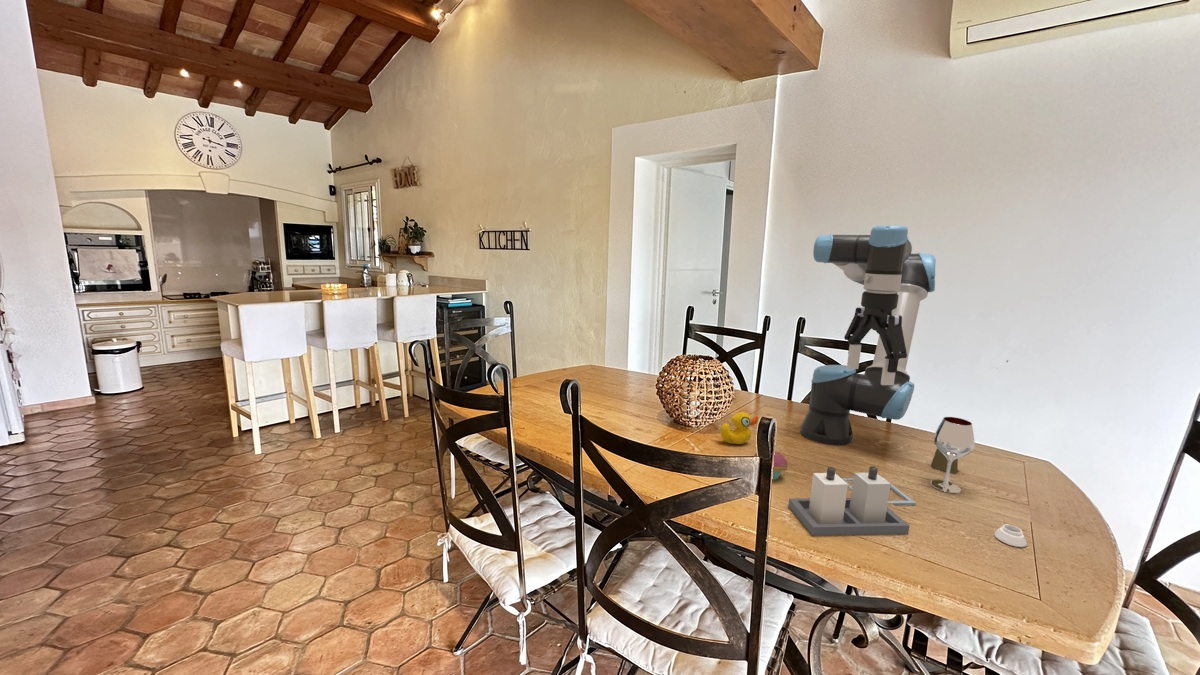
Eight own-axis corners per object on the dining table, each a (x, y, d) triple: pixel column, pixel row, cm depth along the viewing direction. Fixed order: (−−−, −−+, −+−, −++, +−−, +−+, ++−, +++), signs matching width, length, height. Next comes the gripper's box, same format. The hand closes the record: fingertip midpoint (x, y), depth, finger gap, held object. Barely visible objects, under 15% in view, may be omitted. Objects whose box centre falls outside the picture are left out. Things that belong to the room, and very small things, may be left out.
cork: (962, 474, 125) (969, 436, 123) (937, 471, 126) (944, 434, 124) (950, 464, 131) (957, 427, 128) (926, 461, 132) (933, 425, 130)
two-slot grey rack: (788, 508, 107) (789, 498, 107) (874, 506, 108) (876, 497, 108) (811, 537, 96) (813, 527, 96) (907, 536, 98) (909, 525, 97)
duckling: (752, 439, 145) (755, 409, 143) (759, 446, 140) (762, 415, 138) (717, 439, 144) (719, 409, 142) (722, 447, 139) (725, 416, 137)
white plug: (808, 513, 104) (814, 463, 102) (829, 513, 105) (836, 462, 102) (819, 526, 99) (826, 474, 97) (842, 526, 100) (849, 474, 97)
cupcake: (757, 466, 127) (761, 425, 125) (789, 475, 122) (794, 433, 120) (747, 478, 120) (751, 436, 118) (780, 489, 116) (785, 444, 113)
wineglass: (970, 498, 113) (984, 429, 109) (931, 491, 116) (943, 424, 112) (958, 482, 120) (970, 417, 117) (921, 476, 123) (932, 413, 120)
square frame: (838, 480, 120) (838, 478, 120) (882, 479, 121) (882, 477, 121) (867, 505, 109) (867, 503, 109) (915, 505, 109) (916, 502, 109)
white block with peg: (848, 513, 105) (855, 462, 102) (869, 512, 105) (877, 462, 103) (862, 526, 100) (870, 473, 97) (884, 525, 100) (892, 473, 98)
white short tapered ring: (1014, 550, 94) (1031, 546, 95) (1017, 537, 93) (1034, 533, 95) (988, 535, 98) (1005, 532, 100) (990, 523, 98) (1007, 520, 99)
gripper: (836, 286, 122) (827, 363, 127) (902, 298, 98) (887, 392, 102) (863, 286, 123) (853, 362, 127) (935, 298, 98) (920, 392, 103)
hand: (868, 376), depth 115 cm, fingers open, 13 cm apart
